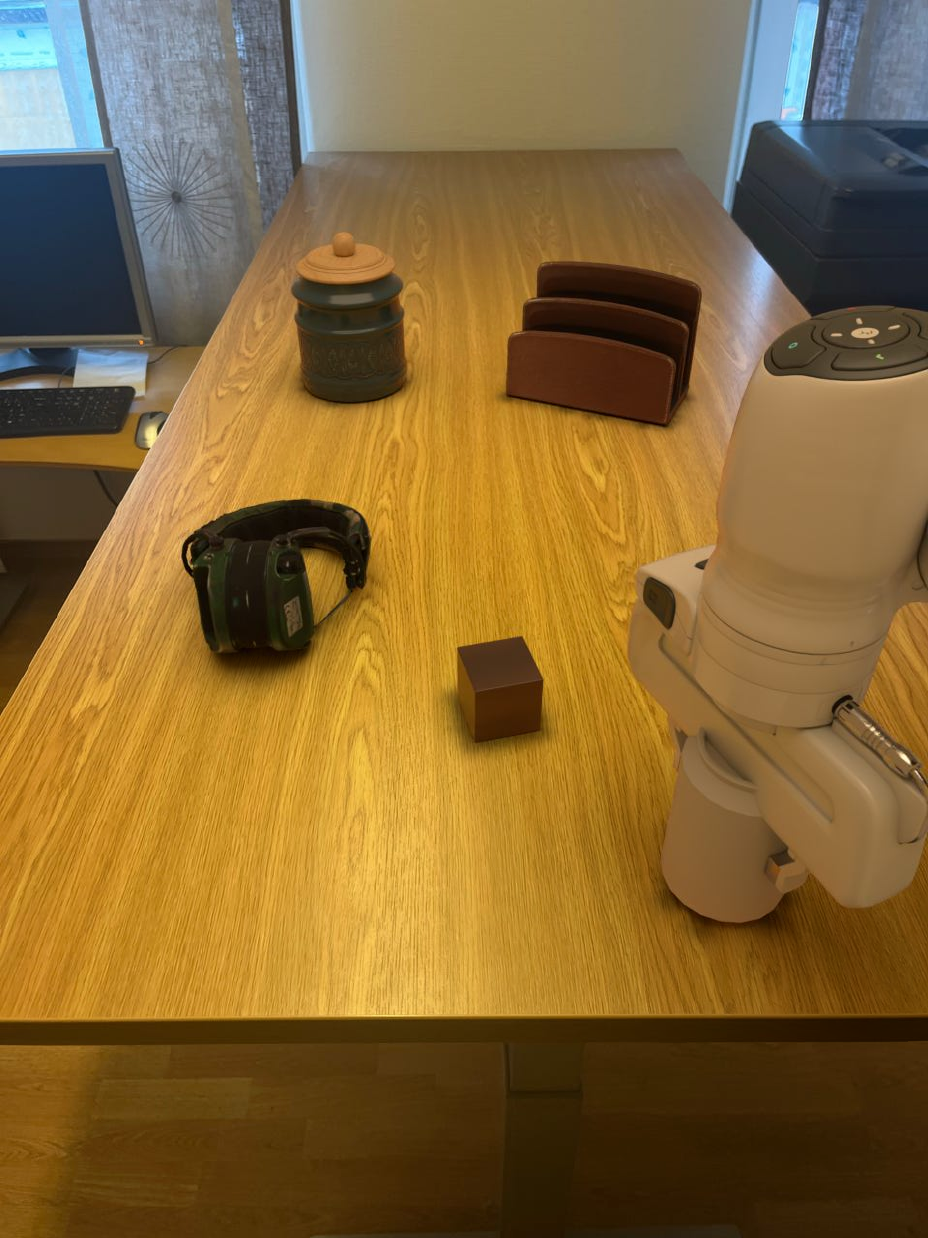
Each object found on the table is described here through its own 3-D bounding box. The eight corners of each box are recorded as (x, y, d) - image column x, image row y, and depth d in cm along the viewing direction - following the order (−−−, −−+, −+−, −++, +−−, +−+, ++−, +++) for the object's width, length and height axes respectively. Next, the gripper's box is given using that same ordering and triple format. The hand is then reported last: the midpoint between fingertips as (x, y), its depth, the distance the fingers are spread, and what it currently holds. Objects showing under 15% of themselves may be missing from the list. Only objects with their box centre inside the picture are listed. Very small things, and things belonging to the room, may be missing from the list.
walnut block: (540, 730, 69) (544, 679, 66) (474, 743, 68) (474, 691, 65) (520, 685, 73) (522, 635, 70) (457, 697, 72) (456, 646, 69)
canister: (330, 354, 123) (316, 212, 112) (423, 367, 119) (418, 222, 108) (283, 395, 113) (263, 244, 102) (382, 411, 110) (372, 256, 99)
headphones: (389, 615, 70) (389, 511, 88) (244, 503, 65) (275, 415, 82) (276, 726, 74) (298, 605, 92) (132, 629, 69) (183, 520, 87)
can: (654, 917, 56) (681, 781, 49) (663, 821, 62) (689, 686, 55) (783, 943, 55) (832, 807, 48) (781, 842, 61) (824, 707, 53)
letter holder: (535, 365, 120) (540, 251, 111) (689, 393, 113) (707, 274, 105) (504, 396, 113) (507, 277, 104) (666, 427, 106) (684, 303, 97)
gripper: (1000, 763, 40) (907, 946, 49) (711, 527, 55) (678, 700, 64) (888, 811, 38) (812, 994, 47) (619, 553, 53) (598, 728, 62)
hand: (733, 823), depth 55 cm, fingers closed on can, 7 cm apart
